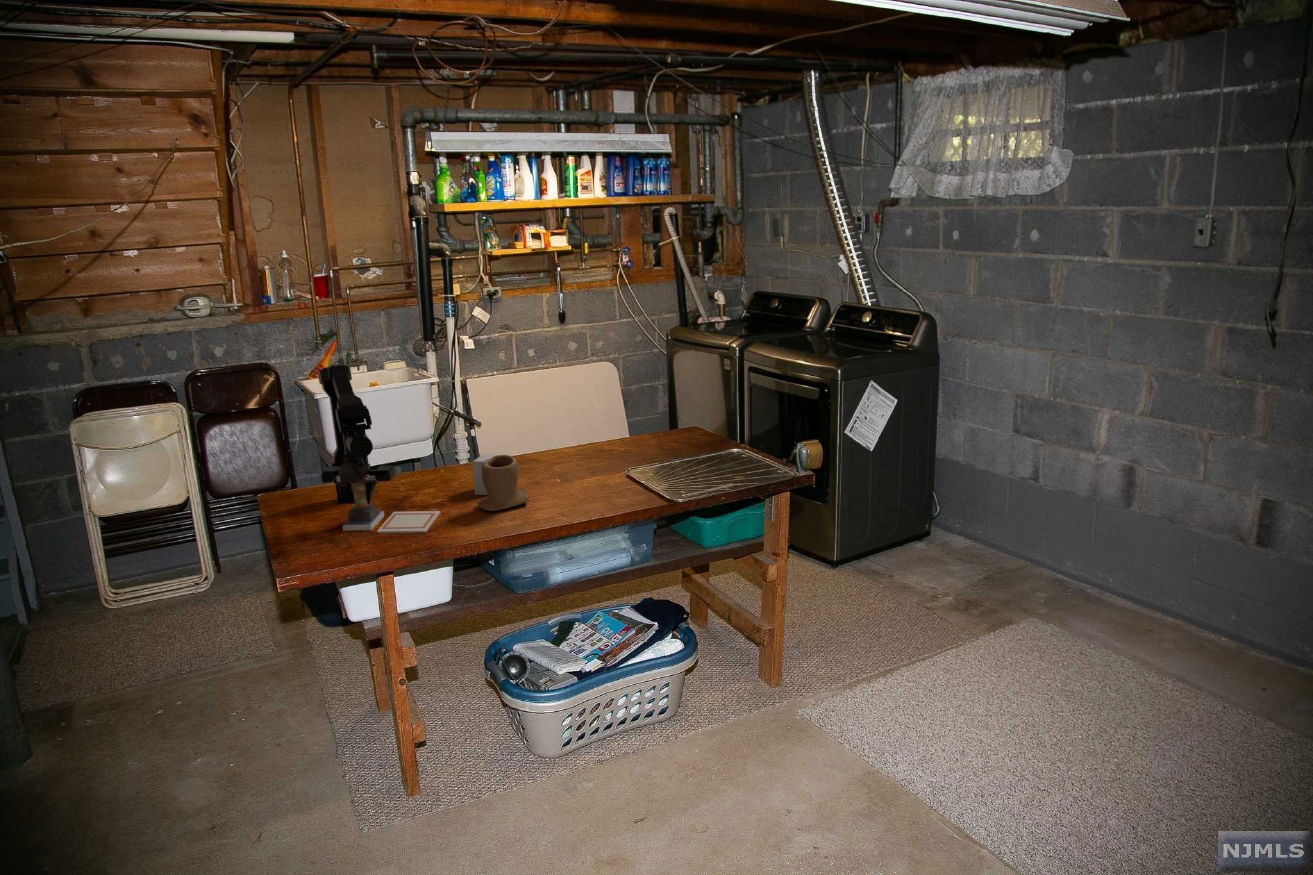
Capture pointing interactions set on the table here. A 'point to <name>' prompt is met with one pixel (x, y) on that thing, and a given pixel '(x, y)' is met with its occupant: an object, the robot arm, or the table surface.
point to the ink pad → (363, 523)
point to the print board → (409, 522)
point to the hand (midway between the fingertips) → (361, 503)
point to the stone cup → (501, 484)
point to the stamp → (361, 503)
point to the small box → (480, 474)
